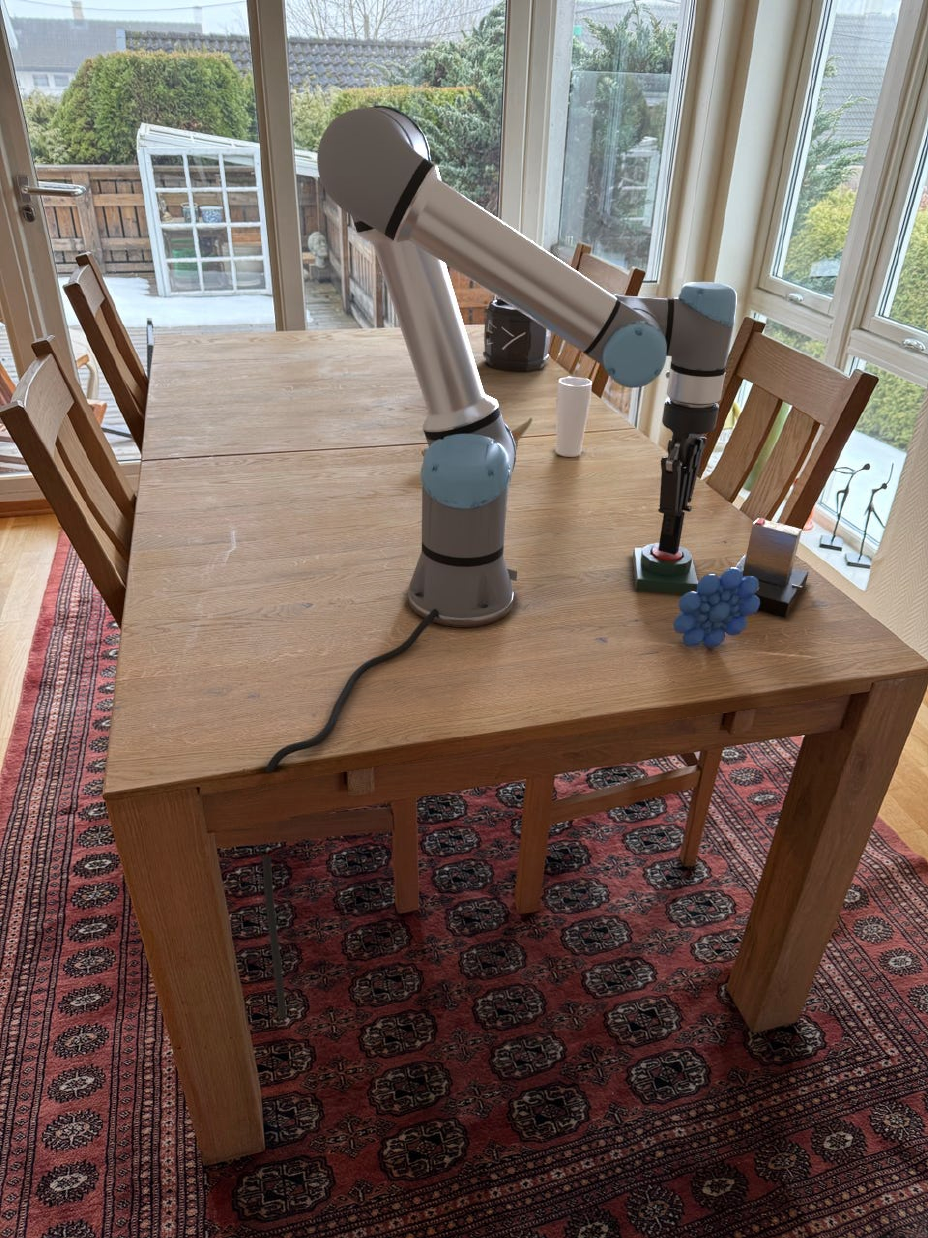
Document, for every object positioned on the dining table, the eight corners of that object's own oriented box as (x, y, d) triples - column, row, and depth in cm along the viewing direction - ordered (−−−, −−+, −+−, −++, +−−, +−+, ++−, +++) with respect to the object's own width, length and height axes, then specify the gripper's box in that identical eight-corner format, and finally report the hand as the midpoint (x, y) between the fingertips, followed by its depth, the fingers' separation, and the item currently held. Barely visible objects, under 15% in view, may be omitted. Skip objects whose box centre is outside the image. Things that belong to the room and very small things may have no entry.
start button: (681, 571, 139) (683, 559, 138) (651, 568, 140) (653, 557, 139) (679, 557, 143) (680, 546, 142) (649, 555, 144) (651, 544, 143)
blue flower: (737, 628, 130) (753, 552, 124) (757, 654, 124) (775, 575, 118) (658, 632, 128) (671, 555, 122) (675, 658, 122) (689, 579, 116)
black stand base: (787, 619, 132) (791, 603, 131) (715, 598, 137) (718, 582, 136) (807, 586, 141) (811, 571, 140) (739, 568, 146) (742, 553, 145)
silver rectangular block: (789, 580, 137) (802, 527, 133) (784, 587, 136) (797, 533, 131) (747, 568, 140) (758, 516, 136) (741, 575, 138) (753, 522, 134)
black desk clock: (472, 356, 252) (474, 297, 244) (533, 353, 257) (537, 295, 249) (493, 374, 237) (496, 311, 229) (557, 370, 242) (562, 309, 234)
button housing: (695, 595, 138) (700, 572, 136) (635, 590, 138) (639, 567, 136) (688, 562, 147) (692, 540, 145) (632, 558, 148) (635, 535, 146)
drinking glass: (546, 455, 187) (552, 382, 180) (559, 445, 192) (565, 374, 185) (577, 461, 185) (584, 388, 177) (589, 451, 190) (597, 380, 182)
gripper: (683, 384, 135) (660, 530, 147) (650, 406, 125) (629, 560, 137) (732, 393, 132) (705, 541, 144) (703, 416, 122) (676, 573, 134)
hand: (668, 550), depth 140 cm, fingers closed
